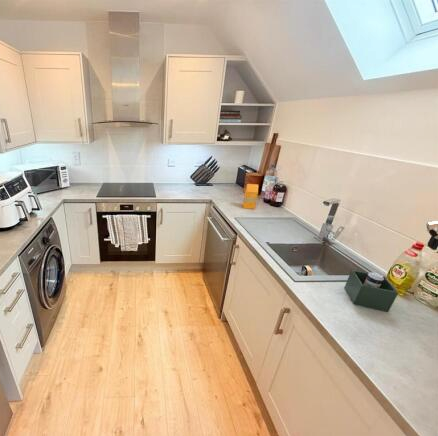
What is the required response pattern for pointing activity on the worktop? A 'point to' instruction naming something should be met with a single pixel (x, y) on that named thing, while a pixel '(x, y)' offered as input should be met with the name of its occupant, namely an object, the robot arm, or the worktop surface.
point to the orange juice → (250, 196)
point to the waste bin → (370, 292)
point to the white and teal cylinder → (374, 280)
